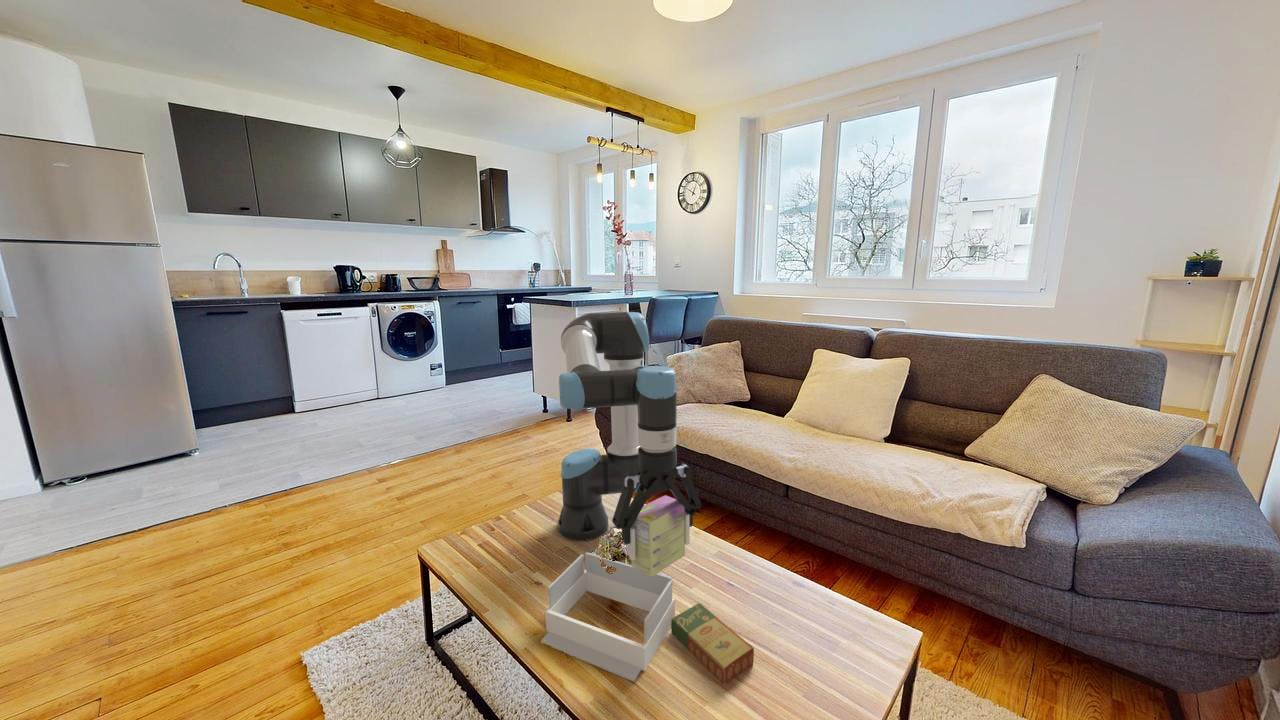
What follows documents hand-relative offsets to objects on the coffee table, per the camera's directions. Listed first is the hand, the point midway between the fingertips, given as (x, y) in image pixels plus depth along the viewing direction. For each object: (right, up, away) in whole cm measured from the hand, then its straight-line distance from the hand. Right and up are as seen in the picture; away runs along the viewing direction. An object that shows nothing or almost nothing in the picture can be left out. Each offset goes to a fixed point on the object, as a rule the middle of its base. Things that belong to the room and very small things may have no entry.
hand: (658, 548), depth 94 cm
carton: (+11, -21, +1) cm, 24 cm away
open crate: (-11, -20, +7) cm, 24 cm away
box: (0, -3, +1) cm, 3 cm away
